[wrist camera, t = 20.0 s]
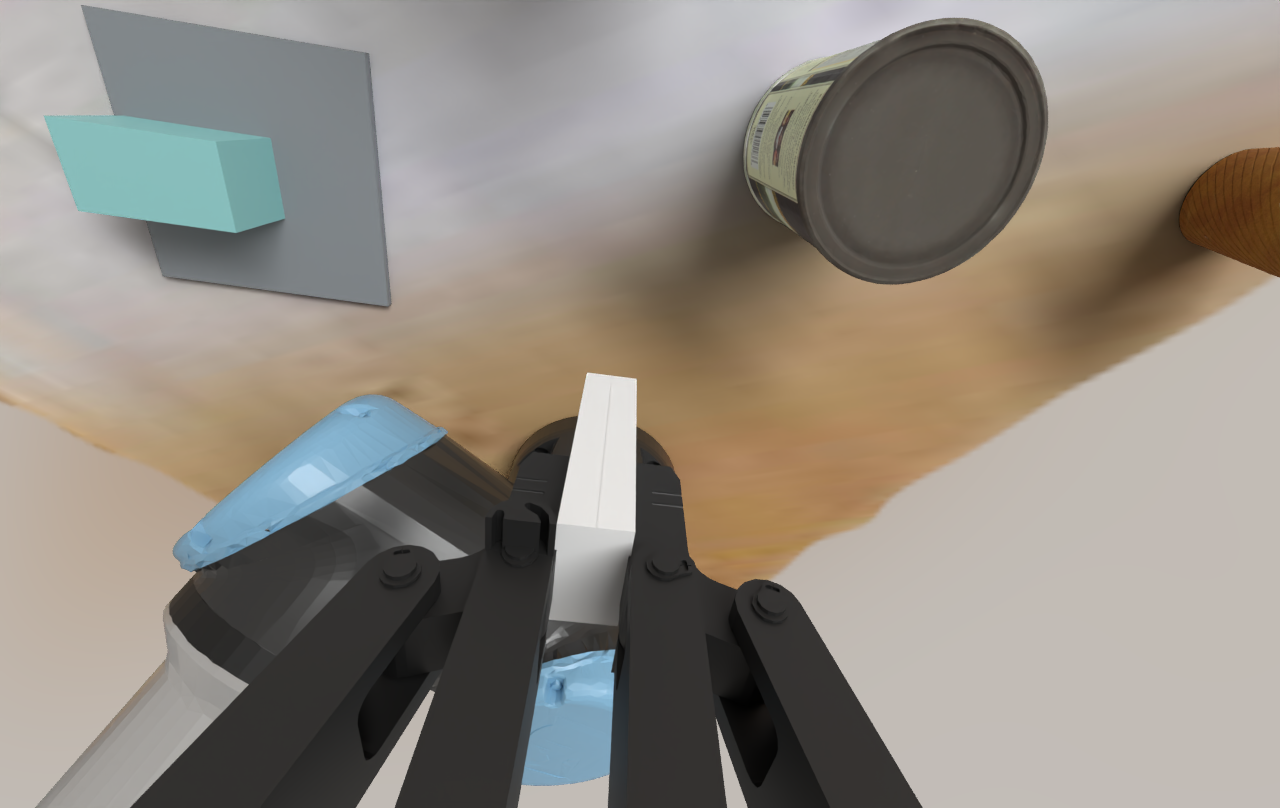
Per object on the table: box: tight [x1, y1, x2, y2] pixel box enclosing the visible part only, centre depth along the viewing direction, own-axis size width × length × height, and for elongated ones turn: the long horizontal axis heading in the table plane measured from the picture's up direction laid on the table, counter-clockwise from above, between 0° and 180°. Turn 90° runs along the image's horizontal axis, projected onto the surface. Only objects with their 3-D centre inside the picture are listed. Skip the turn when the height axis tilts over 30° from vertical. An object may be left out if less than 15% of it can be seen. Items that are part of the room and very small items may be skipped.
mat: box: [81, 5, 391, 306], centre depth 35 cm, size 16×16×1 cm
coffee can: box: [743, 18, 1048, 284], centre depth 28 cm, size 10×10×14 cm
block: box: [44, 116, 285, 233], centre depth 32 cm, size 5×5×9 cm
